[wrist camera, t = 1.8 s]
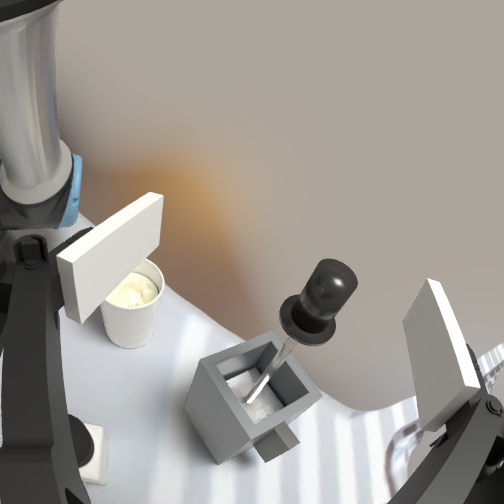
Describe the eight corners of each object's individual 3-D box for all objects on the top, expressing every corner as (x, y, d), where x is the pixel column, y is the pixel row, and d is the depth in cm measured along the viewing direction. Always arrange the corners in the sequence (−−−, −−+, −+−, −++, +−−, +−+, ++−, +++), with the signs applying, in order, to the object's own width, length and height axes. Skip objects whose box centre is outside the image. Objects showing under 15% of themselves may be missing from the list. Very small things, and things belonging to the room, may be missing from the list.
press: (183, 408, 42) (200, 359, 32) (239, 384, 48) (273, 330, 38) (229, 482, 35) (268, 463, 25) (285, 450, 41) (338, 415, 31)
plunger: (209, 389, 36) (273, 251, 22) (254, 369, 40) (336, 235, 26) (239, 435, 33) (338, 328, 18) (283, 410, 36) (393, 295, 22)
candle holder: (169, 337, 50) (178, 291, 43) (119, 363, 44) (115, 319, 36) (139, 296, 55) (142, 247, 47) (91, 317, 48) (84, 267, 40)
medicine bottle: (109, 439, 35) (98, 413, 27) (106, 486, 30) (92, 476, 22) (61, 428, 33) (37, 399, 25) (56, 474, 28) (27, 459, 20)
